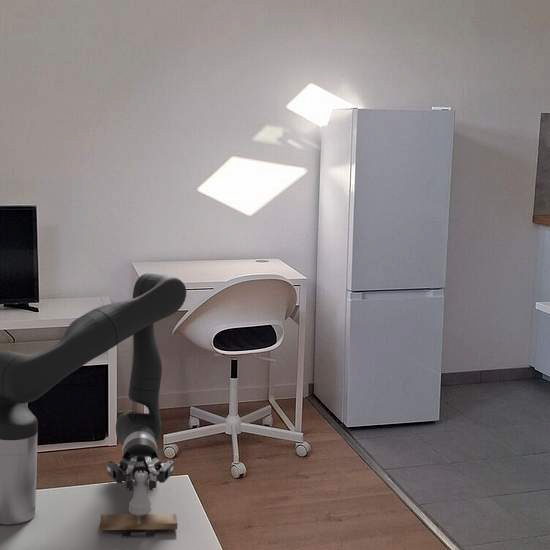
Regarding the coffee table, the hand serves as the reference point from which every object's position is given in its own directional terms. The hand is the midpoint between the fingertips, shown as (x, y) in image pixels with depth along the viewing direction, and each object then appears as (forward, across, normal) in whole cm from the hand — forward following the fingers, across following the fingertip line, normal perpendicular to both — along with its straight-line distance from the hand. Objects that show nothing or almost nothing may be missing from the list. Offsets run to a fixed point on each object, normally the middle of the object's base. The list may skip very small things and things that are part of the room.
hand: (141, 485), depth 162 cm
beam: (-3, 0, +8) cm, 9 cm away
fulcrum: (-3, 0, +10) cm, 10 cm away
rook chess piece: (-3, 0, +7) cm, 7 cm away
